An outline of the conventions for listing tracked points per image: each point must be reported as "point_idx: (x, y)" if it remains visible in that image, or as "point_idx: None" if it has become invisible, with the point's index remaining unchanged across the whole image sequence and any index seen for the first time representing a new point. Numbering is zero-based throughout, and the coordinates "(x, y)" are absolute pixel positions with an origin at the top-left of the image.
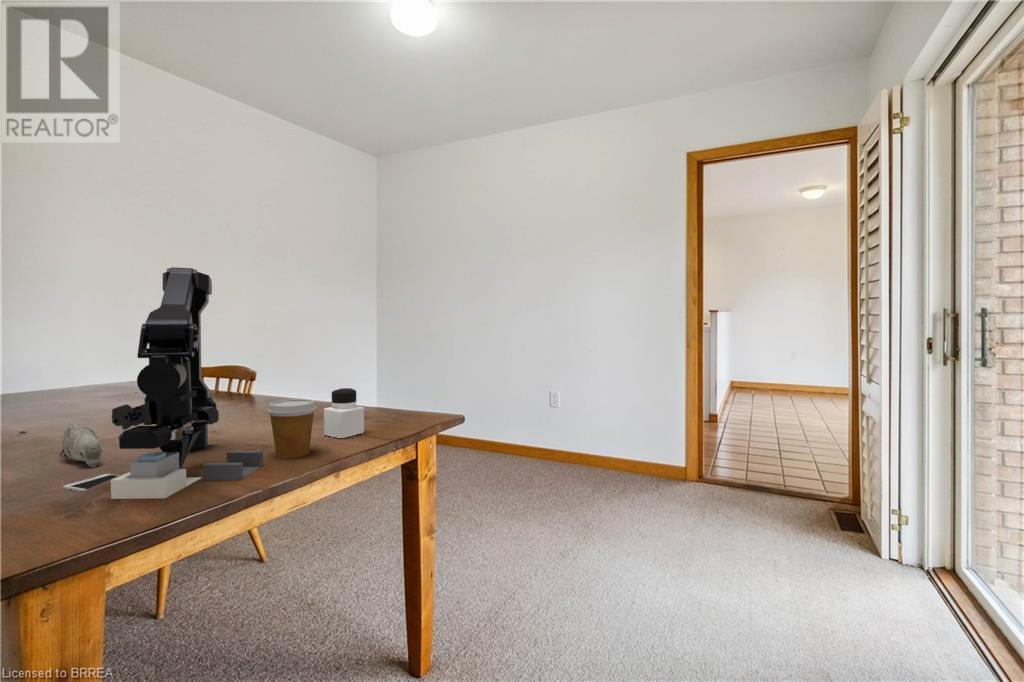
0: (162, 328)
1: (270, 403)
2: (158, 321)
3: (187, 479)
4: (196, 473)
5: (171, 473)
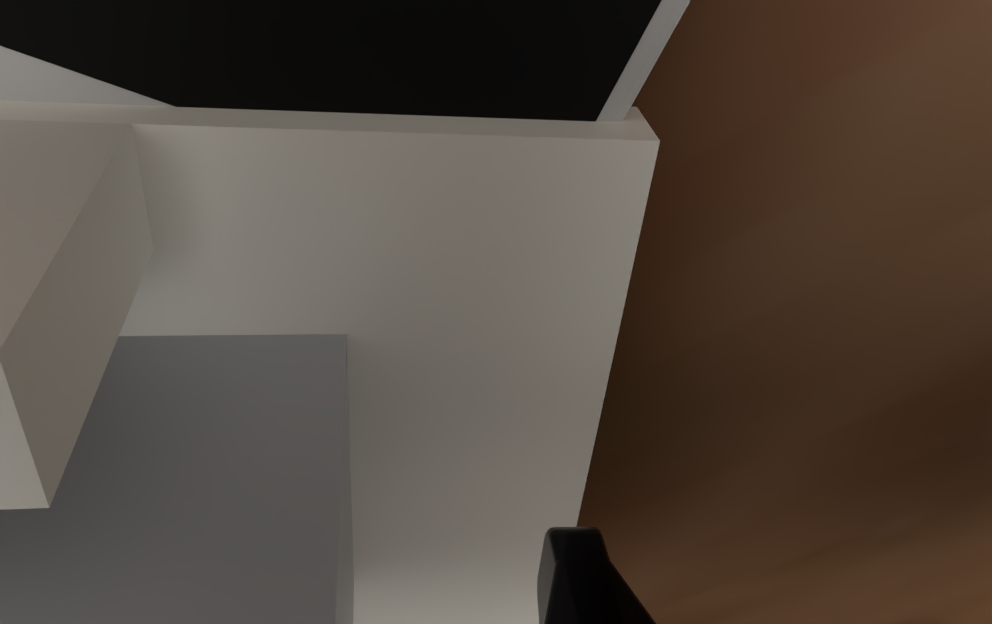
0: None
1: None
2: None
3: (481, 593)
4: (913, 429)
5: None
